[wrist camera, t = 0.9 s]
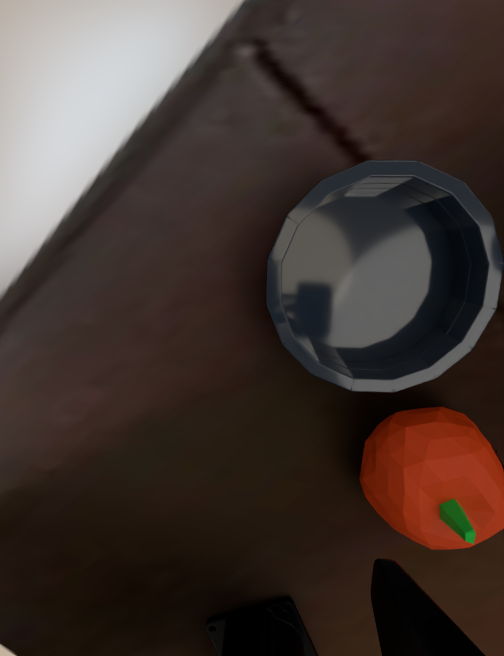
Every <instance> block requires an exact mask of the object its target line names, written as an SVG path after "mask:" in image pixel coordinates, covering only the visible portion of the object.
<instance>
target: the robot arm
mask: <svg viewBox="0 0 504 656" xmlns="http://www.w3.org/2000/svg"><path fill="white" fill-rule="evenodd" d="M371 601H372V607H373V612H374V617H375V622H376V627H377V632H378V637H379V642H380V647H381V652H382V656H485V655H484V654H483V653H482V652H481V651H480V649H479V648H478V647H477V646H476V645H475V644H474V643H473V642H472V641H471V640H470V639H469V638H468V637H467V636H466V635H465V634H464V633H463V631H462V630H461V629H460V628H459V627H458V626H457V625H456V624H455V623H454V622H453V621H452V620H451V619H450V618H449V617H448V616H447V615H446V613H445V612H444V611H443V610H442V609H441V608H440V607H439V606H438V605H437V604H436V603H435V602H434V601H433V600H432V599H431V598H430V597H429V595H428V594H427V593H426V592H425V591H424V590H423V589H422V588H421V587H420V586H419V585H418V584H417V583H416V582H415V581H414V580H413V579H412V577H411V576H410V575H409V574H408V573H407V572H406V571H405V570H404V569H403V568H402V567H401V566H400V565H399V564H398V563H397V562H396V561H395V560H392V559H376V560H375V562H374V566H373V574H372V583H371ZM285 605H288V606H285ZM206 631H207V633H208V635H209V637H210V639H211V641H212V643H213V644H214V646H215V648H216V650H217V652H218V654H219V656H318V654H317V652H316V650H315V648H314V645H313V643H312V641H311V639H310V637H309V634H308V632H307V630H306V628H305V626H304V623H303V621H302V619H301V617H300V615H299V612H298V610H297V608H296V606H295V604H294V601H293V600H292V599H291V598H290V597H282V598H279V599H275V600H271V601H268V602H264V603H261V604H257V605H253V606H250V607H246V608H243V609H239V610H235V611H232V612H228V613H224V614H221V615H217V616H214V617H210V618H208V619H207V622H206Z"/></svg>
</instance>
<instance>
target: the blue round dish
mask: <svg viewBox="0 0 504 656" xmlns="http://www.w3.org/2000/svg"><path fill="white" fill-rule="evenodd" d="M503 262H504V260H503V256H502V252H501V248H500V244H499V240H498V236H497V232H496V228H495V225H494V221H493V218H492V215H491V214H490V213H489V212H488V211H487V209H486V208H485V207H484V206H483V205H482V203H481V202H480V201H479V200H478V198H477V197H476V196H475V195H474V194H473V192H472V191H471V190H470V189H469V188H468V186H467V185H466V184H465V183H464V182H463V181H461V180H460V179H458V178H456V177H453V176H451V175H449V174H447V173H445V172H443V171H441V170H438V169H436V168H434V167H432V166H430V165H428V164H425V163H423V162H421V161H417V160H369V161H368V160H367V161H365V162H362V163H360V164H358V165H355V166H353V167H350V168H348V169H346V170H343V171H341V172H339V173H336V174H334V175H332V176H329V177H327V178H325V179H323V180H321V181H320V182H319V183H318V184H317V185H316V186H315V187H314V188H313V189H312V190H311V191H310V192H309V193H308V194H307V195H306V196H305V197H304V198H303V199H302V200H301V201H300V202H299V203H298V204H297V205H296V206H295V207H294V208H293V209H292V210H291V211H290V212H289V213H288V214H287V215H286V217H285V219H284V221H283V223H282V225H281V228H280V230H279V232H278V235H277V237H276V239H275V242H274V244H273V246H272V248H271V251H270V253H269V255H268V259H267V292H266V304H267V308H268V310H269V313H270V315H271V318H272V321H273V323H274V326H275V328H276V331H277V333H278V336H279V338H280V341H281V343H282V344H283V346H284V347H285V348H286V349H287V350H288V351H289V352H290V353H291V354H292V355H293V356H294V357H295V358H296V359H297V360H298V361H299V362H300V364H301V365H302V366H303V367H304V368H305V369H306V370H307V371H308V372H309V373H310V374H312V375H313V376H316V377H318V378H320V379H323V380H325V381H327V382H330V383H332V384H335V385H337V386H339V387H342V388H344V389H346V390H349V391H353V392H387V393H393V392H398V391H401V390H404V389H407V388H410V387H412V386H415V385H418V384H421V383H424V382H427V381H430V380H433V379H436V378H438V377H439V376H440V375H441V374H443V373H444V372H445V371H446V370H448V369H449V368H450V367H451V366H453V365H454V364H455V363H456V362H458V361H459V360H460V359H461V358H463V357H464V356H465V355H466V354H468V353H469V352H470V351H471V350H472V349H473V348H474V346H475V344H476V343H477V341H478V339H479V338H480V336H481V334H482V333H483V331H484V329H485V328H486V326H487V324H488V323H489V321H490V319H491V318H492V316H493V314H494V313H495V311H496V309H497V305H498V299H499V293H500V286H501V280H502V274H503V268H504V263H503Z"/></svg>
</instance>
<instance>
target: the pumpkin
mask: <svg viewBox="0 0 504 656" xmlns="http://www.w3.org/2000/svg"><path fill="white" fill-rule="evenodd" d="M360 483H361V486H362V489H363V492H364V495H365V497H366V499H367V500H368V501H369V503H370V504H371V505H372V506H373V508H374V509H375V510H376V512H377V513H378V514H379V515H380V516H381V517H382V518H383V519H384V520H385V521H386V522H387V523H388V524H389V525H390V526H391V527H392V528H393V529H394V530H396V531H398V532H400V533H401V534H403V535H405V536H406V537H408V538H410V539H412V540H413V541H415V542H417V543H420V544H422V545H424V546H426V547H428V548H430V549H460V548H469V547H471V546H473V545H475V544H478V543H480V542H482V541H484V540H486V539H488V538H489V537H491V536H493V535H494V534H496V533H497V532H499V531H501V530H502V529H504V466H503V464H502V462H501V461H500V459H499V457H498V455H497V451H495V450H494V449H492V447H491V445H490V443H489V442H488V441H487V440H486V438H485V437H484V436H483V435H482V434H481V432H480V431H479V429H478V428H477V426H476V425H475V424H474V423H473V422H472V421H471V420H470V419H469V418H468V417H467V416H466V415H464V414H463V413H460V412H457V411H454V410H451V409H448V408H445V407H431V408H419V409H412V410H406V411H399V412H396V413H394V414H392V415H390V416H389V417H387V418H386V419H385V420H383V421H382V422H381V423H379V424H378V426H377V427H376V428H375V430H374V431H373V432H372V433H371V435H370V436H369V437H368V439H367V440H366V441H365V446H364V452H363V458H362V465H361V473H360Z"/></svg>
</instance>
